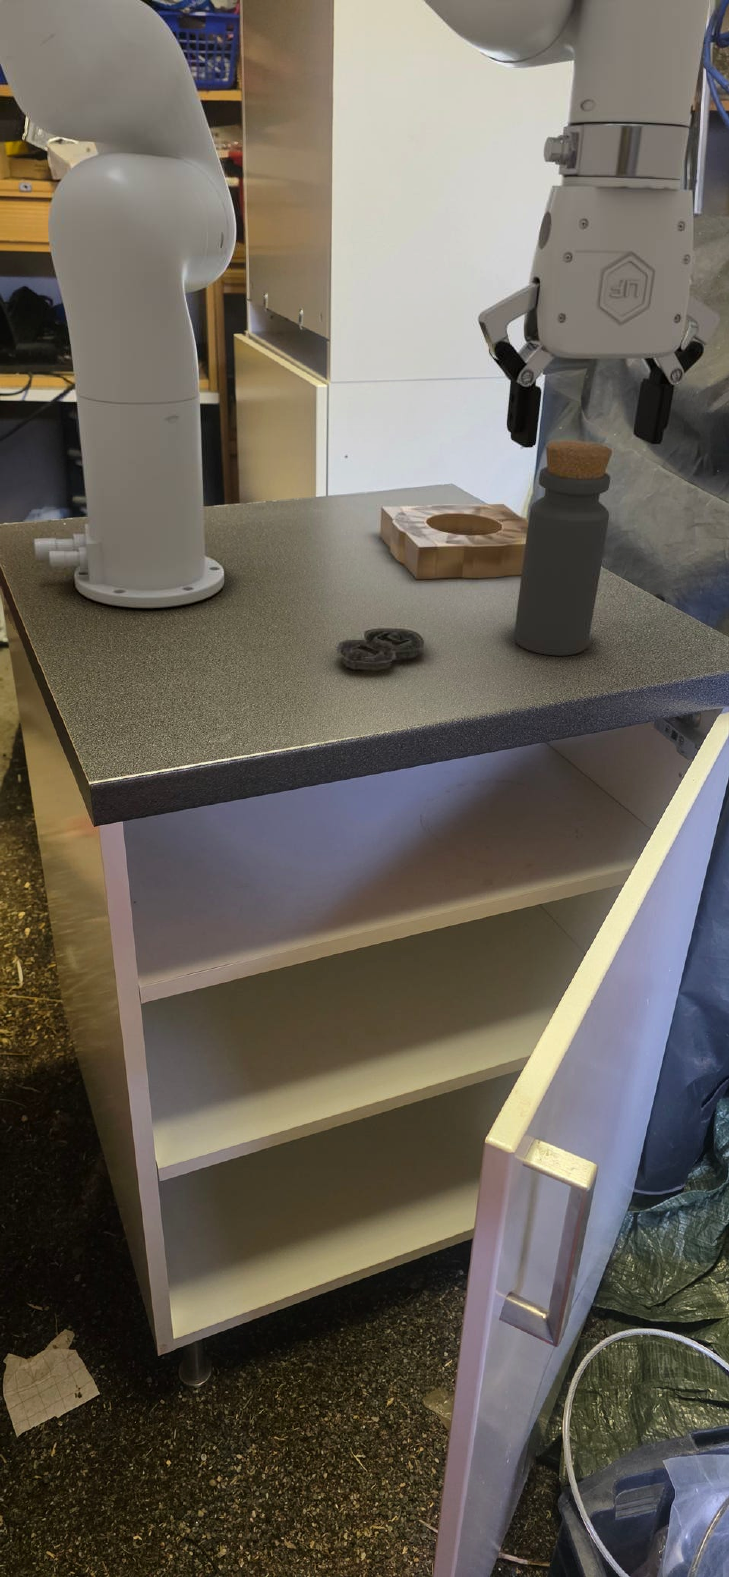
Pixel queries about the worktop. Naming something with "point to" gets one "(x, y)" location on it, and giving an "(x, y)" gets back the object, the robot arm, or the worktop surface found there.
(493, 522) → the socket pad
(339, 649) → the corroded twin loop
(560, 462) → the bottle
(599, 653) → the worktop surface
